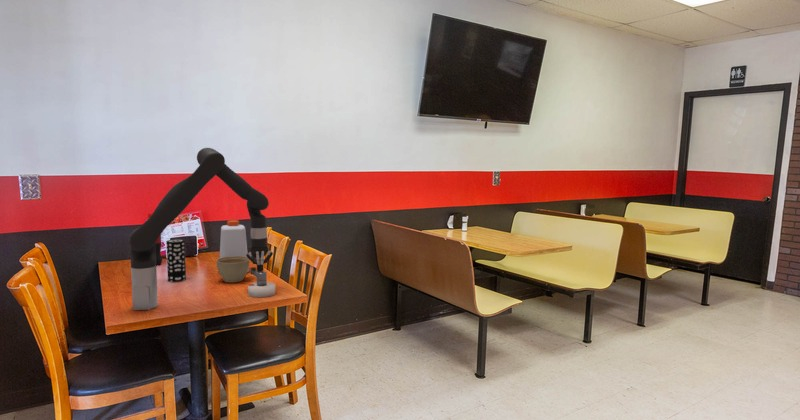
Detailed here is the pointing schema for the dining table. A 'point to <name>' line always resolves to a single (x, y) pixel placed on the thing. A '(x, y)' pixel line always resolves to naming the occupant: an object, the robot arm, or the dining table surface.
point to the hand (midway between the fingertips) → (260, 272)
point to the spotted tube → (176, 260)
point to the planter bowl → (233, 268)
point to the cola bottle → (157, 248)
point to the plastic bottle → (233, 240)
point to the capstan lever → (259, 276)
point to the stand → (261, 290)
